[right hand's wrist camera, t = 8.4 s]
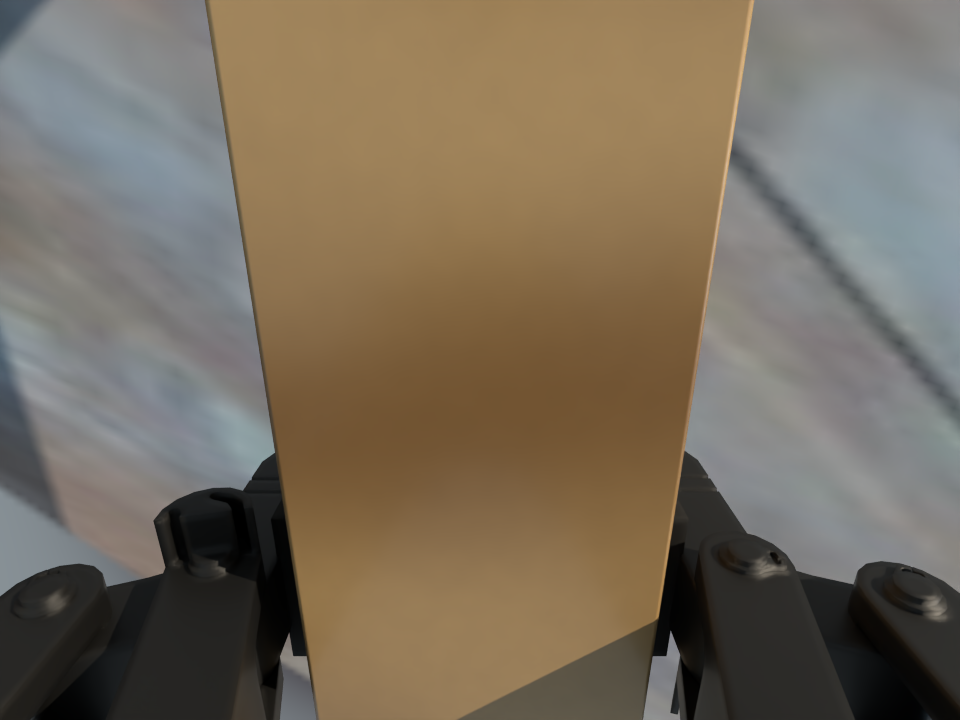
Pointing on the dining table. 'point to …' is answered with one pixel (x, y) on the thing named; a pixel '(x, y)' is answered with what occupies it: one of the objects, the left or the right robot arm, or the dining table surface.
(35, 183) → the dining table surface
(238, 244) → the dining table surface
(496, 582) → the bar
